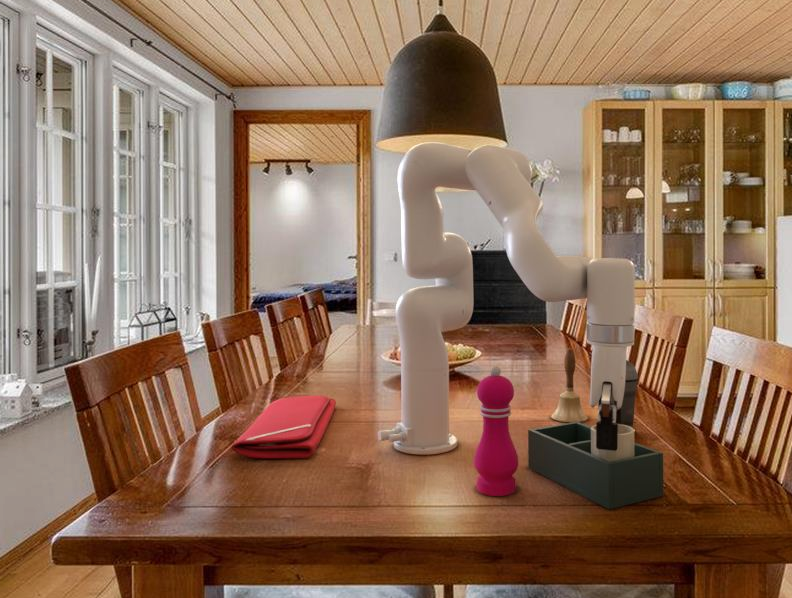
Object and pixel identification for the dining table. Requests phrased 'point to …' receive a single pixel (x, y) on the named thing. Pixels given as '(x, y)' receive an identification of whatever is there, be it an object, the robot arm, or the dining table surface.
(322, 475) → the dining table surface
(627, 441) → the cup
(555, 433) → the storage box
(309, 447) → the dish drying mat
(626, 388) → the beverage cup
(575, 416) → the hand bell
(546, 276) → the robot arm
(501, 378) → the pepper mill
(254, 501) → the dining table surface
